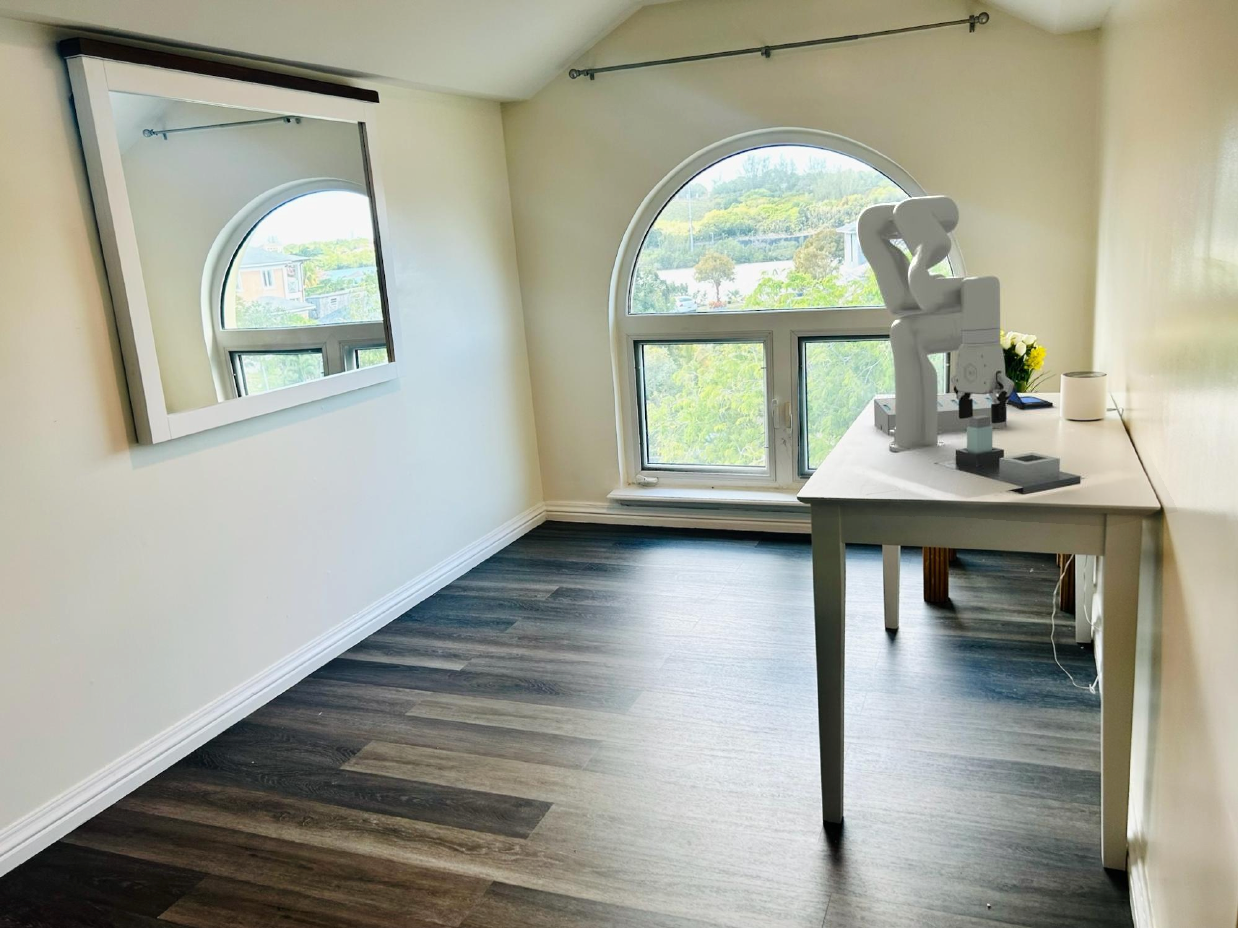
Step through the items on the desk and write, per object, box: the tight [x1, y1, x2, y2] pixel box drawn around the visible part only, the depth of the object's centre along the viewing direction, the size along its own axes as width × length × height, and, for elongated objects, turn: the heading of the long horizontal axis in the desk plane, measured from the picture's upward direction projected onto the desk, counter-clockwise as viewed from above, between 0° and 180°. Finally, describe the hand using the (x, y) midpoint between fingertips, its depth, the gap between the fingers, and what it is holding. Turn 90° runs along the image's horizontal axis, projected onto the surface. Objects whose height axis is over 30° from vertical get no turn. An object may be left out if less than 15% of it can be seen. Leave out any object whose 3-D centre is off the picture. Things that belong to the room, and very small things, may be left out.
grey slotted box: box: [873, 393, 1008, 436], centre depth 251 cm, size 30×14×8 cm, turn 89°
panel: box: [933, 446, 1082, 496], centre depth 195 cm, size 26×14×5 cm, turn 21°
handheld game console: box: [1006, 387, 1054, 410], centre depth 273 cm, size 16×13×9 cm
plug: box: [966, 415, 994, 453], centre depth 201 cm, size 3×4×10 cm
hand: (981, 420), depth 199 cm, fingers open, 9 cm apart
